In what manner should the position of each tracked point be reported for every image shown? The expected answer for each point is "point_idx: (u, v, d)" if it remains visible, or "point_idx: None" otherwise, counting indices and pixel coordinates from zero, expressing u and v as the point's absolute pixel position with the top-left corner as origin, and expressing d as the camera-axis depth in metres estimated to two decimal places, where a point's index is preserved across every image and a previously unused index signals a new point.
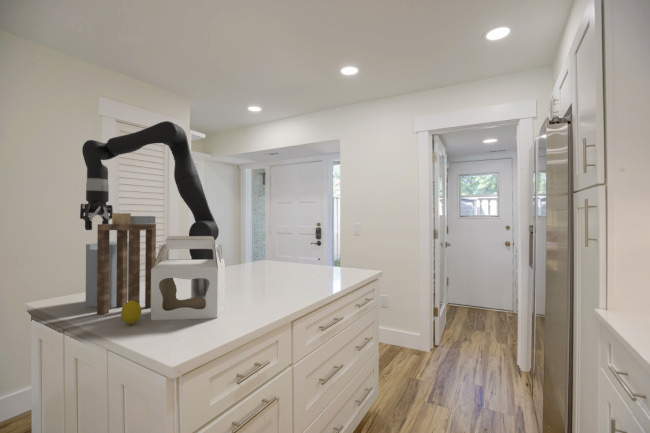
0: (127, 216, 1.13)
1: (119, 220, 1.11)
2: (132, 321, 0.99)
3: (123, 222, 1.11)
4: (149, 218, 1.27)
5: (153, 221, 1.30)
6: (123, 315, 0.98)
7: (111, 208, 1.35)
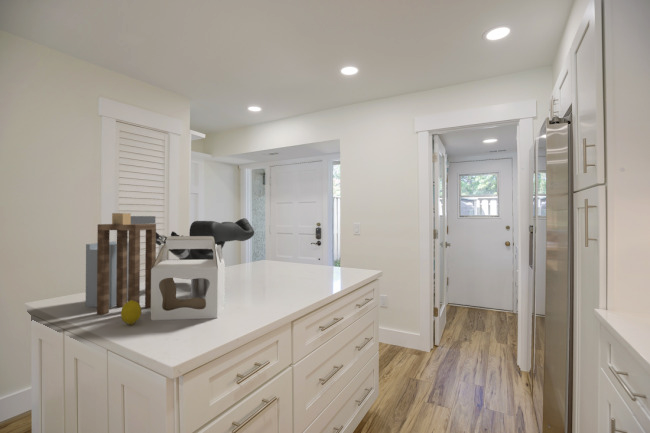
0: (127, 216, 1.13)
1: (119, 220, 1.11)
2: (132, 321, 0.99)
3: (123, 222, 1.11)
4: (149, 218, 1.27)
5: (153, 221, 1.30)
6: (123, 315, 0.98)
7: (158, 244, 1.46)
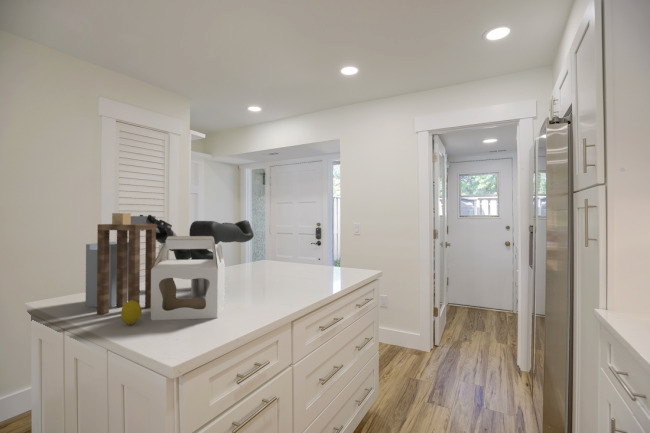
0: (127, 216, 1.13)
1: (119, 220, 1.11)
2: (132, 321, 0.99)
3: (123, 222, 1.11)
4: None
5: None
6: (123, 315, 0.98)
7: None
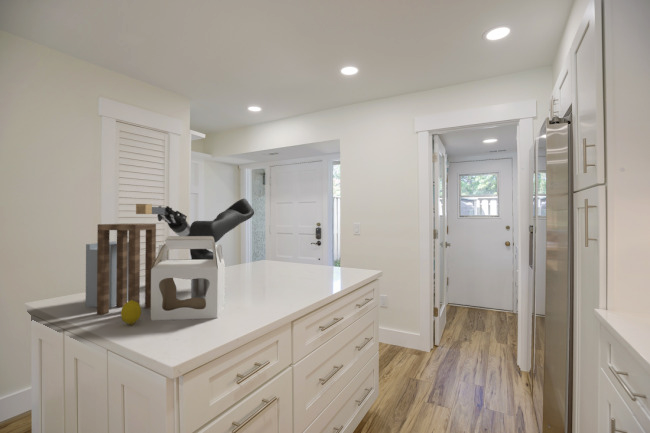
0: (149, 206, 1.26)
1: (142, 210, 1.24)
2: (132, 321, 0.99)
3: (145, 211, 1.24)
4: None
5: None
6: (123, 315, 0.98)
7: (159, 219, 1.46)
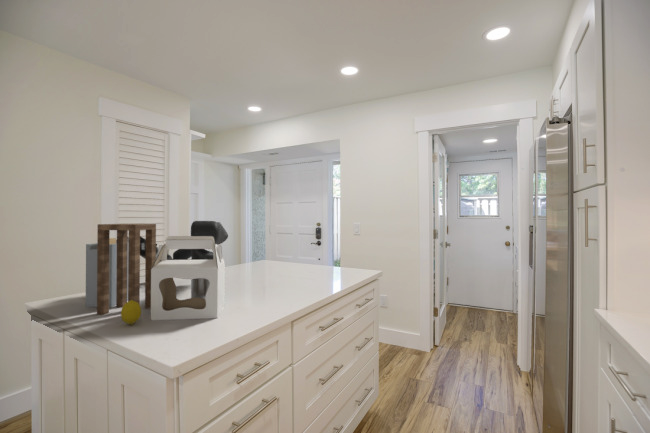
0: (113, 241, 1.25)
1: None
2: (132, 321, 0.99)
3: None
4: None
5: None
6: (123, 315, 0.98)
7: None
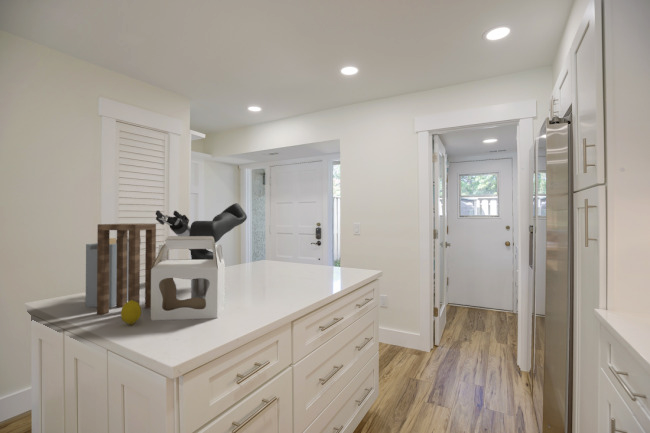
0: (113, 241, 1.25)
1: None
2: (132, 321, 0.99)
3: None
4: None
5: None
6: (123, 315, 0.98)
7: (161, 223, 1.56)
